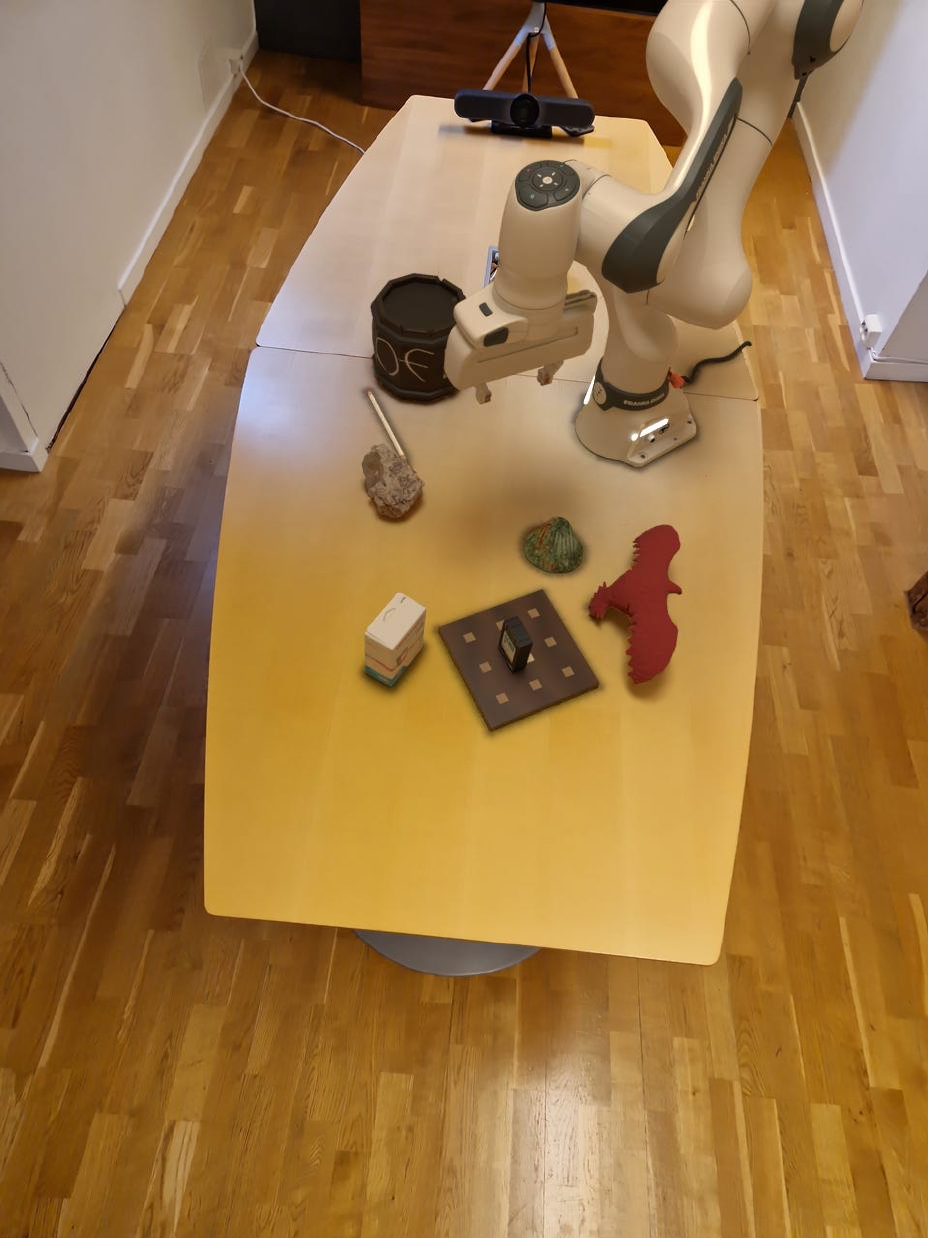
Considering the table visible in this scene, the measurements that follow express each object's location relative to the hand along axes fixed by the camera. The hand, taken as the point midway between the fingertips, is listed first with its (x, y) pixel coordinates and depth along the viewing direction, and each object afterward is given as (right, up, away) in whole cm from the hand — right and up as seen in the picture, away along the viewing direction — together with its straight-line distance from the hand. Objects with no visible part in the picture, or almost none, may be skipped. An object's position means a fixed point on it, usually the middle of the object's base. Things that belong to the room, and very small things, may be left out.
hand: (513, 390), depth 111 cm
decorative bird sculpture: (+19, -31, +17) cm, 40 cm away
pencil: (-21, +3, +34) cm, 40 cm away
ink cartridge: (0, -37, +10) cm, 38 cm away
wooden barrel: (-15, +15, +42) cm, 47 cm away
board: (+1, -37, +12) cm, 39 cm away
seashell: (+8, -20, +23) cm, 31 cm away
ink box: (-17, -37, +10) cm, 42 cm away
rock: (-19, -12, +25) cm, 34 cm away
